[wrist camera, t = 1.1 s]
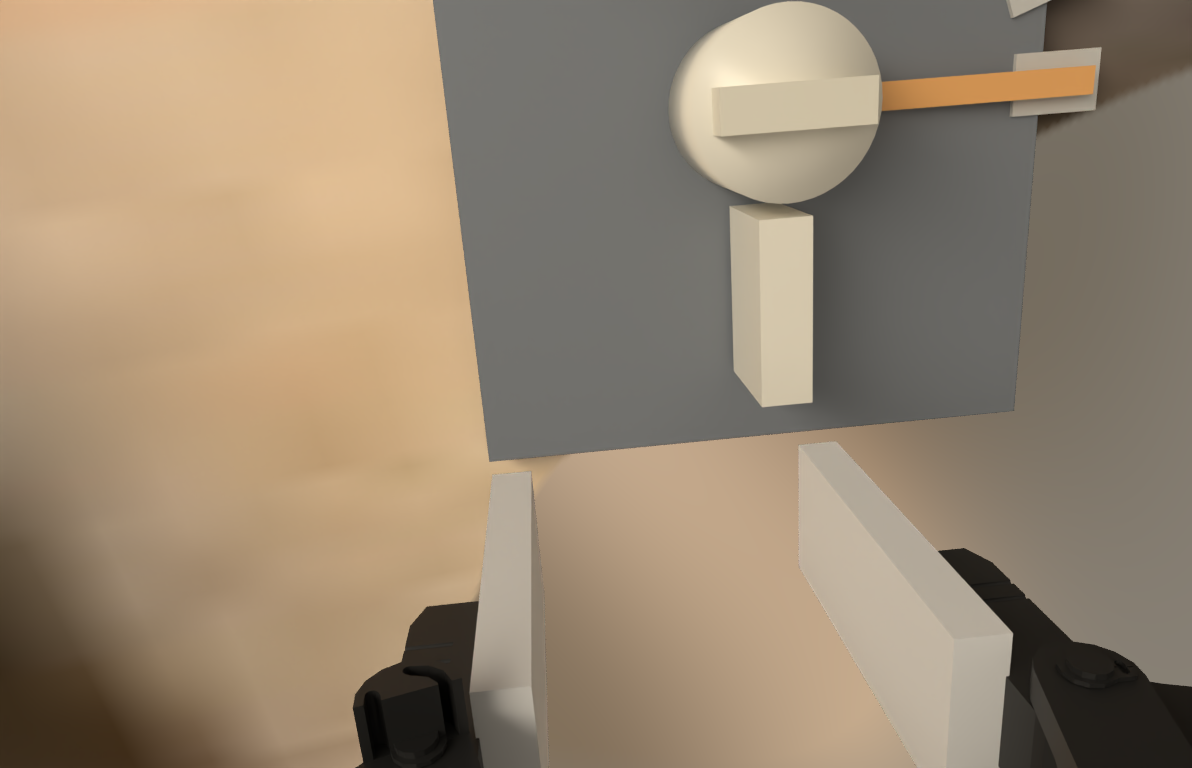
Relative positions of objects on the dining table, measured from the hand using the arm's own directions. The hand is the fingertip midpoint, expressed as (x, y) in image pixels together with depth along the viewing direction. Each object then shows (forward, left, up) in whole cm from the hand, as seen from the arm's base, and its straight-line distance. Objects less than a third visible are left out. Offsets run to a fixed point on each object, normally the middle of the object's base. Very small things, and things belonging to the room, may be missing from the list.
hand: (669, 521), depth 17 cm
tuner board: (+7, +8, -19) cm, 21 cm away
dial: (+11, +4, -17) cm, 21 cm away
